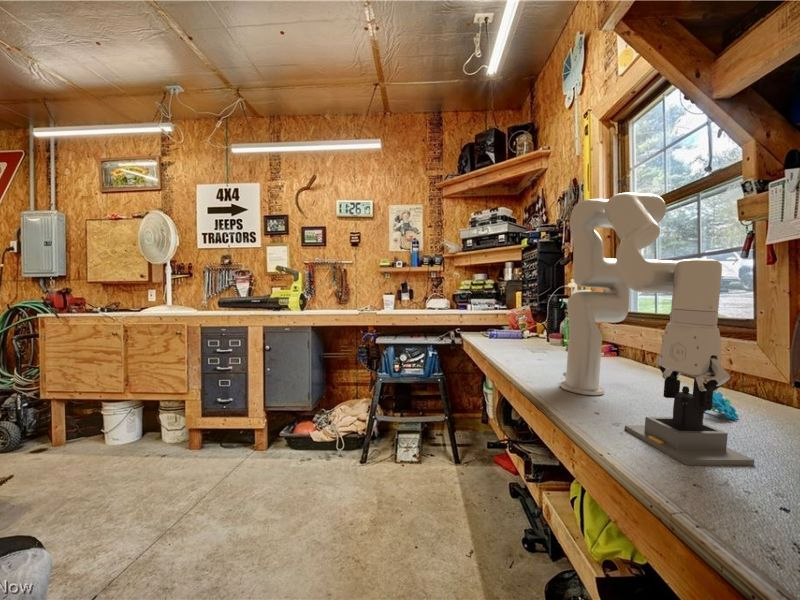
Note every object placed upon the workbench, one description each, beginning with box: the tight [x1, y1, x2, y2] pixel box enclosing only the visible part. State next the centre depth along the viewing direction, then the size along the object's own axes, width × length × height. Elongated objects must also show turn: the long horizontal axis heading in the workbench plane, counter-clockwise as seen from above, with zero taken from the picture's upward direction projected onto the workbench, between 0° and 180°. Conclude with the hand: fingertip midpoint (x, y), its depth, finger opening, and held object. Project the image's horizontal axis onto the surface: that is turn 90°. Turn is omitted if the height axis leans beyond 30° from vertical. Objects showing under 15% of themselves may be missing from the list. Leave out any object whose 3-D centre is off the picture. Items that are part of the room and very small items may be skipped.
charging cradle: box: [624, 416, 755, 466], centre depth 74 cm, size 16×14×4 cm
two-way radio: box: [672, 377, 705, 431], centre depth 74 cm, size 6×4×15 cm
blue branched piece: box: [704, 391, 739, 421], centre depth 96 cm, size 11×6×10 cm
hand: (686, 402), depth 74 cm, fingers open, 6 cm apart
